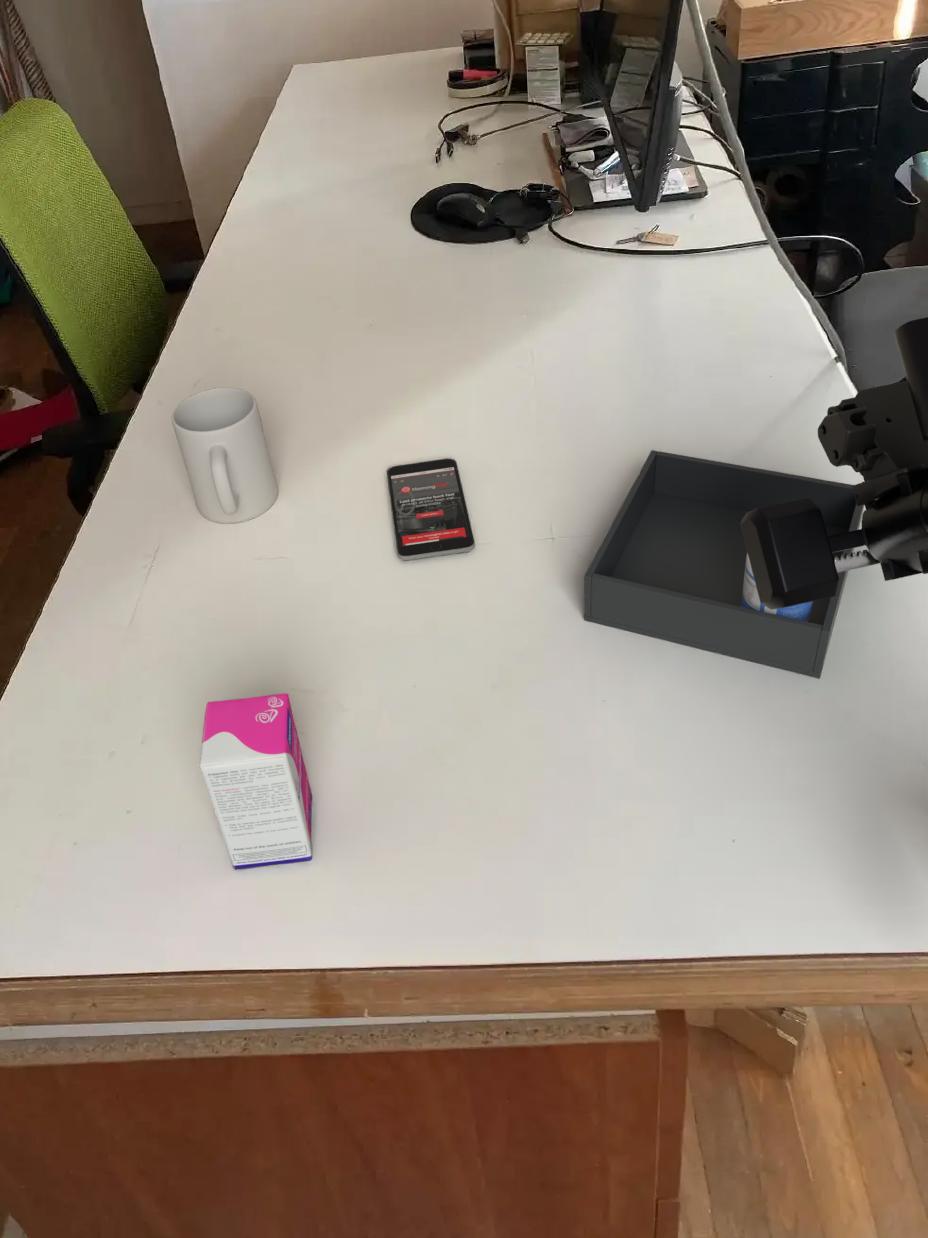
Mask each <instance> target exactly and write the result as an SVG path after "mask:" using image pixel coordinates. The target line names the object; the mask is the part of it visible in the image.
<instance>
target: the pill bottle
mask: <svg viewBox="0 0 928 1238" xmlns="http://www.w3.org/2000/svg"><path fill="white" fill-rule="evenodd" d="M812 605H813V601H812V602H807V603H803V604H799V605H794V606H790V607H785V608H780V609H773V610H771V609H769V608H768V607H766V606H764V605H763V604H761V603H760V599H759V595H758V592H757V588H756V584H755V580H754V576H753V572H752V568H751V564H750V560H749V557H748V553H747V557H746V564H745V574H744V583H743V593H742V602H741V607H744V608H749V609H753V610H758V611H762V612H766V613H771V614H775V615H780V616H784V617H788V618H793V619H797V620H802V621H806V622H810V616H811V611H812Z"/></svg>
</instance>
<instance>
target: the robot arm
mask: <svg viewBox="0 0 928 1238" xmlns="http://www.w3.org/2000/svg"><path fill="white" fill-rule="evenodd" d="M893 336H894V340H895V344H896V347H897V351H898V354H899V358H900V362H901V365H902V369H903V372H904V375H905V379H906V380H904V381H898V382H894V383H889V384H884V385H877V386H875V387H870V388H865V389H862V390H860V391H858V392H857V393H856V395H855V396H854V397H849V398H845V399H842V400H841V401H840V402H839V404H837V405H833V406H829V407H828V408H827V411H826V414H827V415H825V416H824V417H823V419H822V421H821V422H820V424H819V426H818V427H817V438H818V440H819V443H820V445H821V446H822V448H823V451H824V453H825V455H826V457H827V459H828V461H829V464H831V465H832V466H834V467H836V468H840V467H843V466H849V467H851V468H852V469H853V471H854V472H855V473H859V474H860V476H862V478H863V481H862V482H859V483H856V484H853V485H854V486H852V490H853V493H854V497H855V501H856V504H857V506H863V505H864V510H863V513H862V518H861V528H859V530H855V531H850V532H846V533H841V534H837V535H832V536H827V532H826V528H825V524H824V521H823V517H822V513H821V509H820V508H819V507H818V506H817V505H816V504H815V502H814V501H813V500H812V499H811V498H810V497H807V498H803V499H798V500H793V501H789V502H784V503H780V504H775V505H770V506H766V507H761V508H757V509H755V510H752V511H750V512H748V513H746V514H745V516H744V518H743V519H742V521H741V523H740V525H741V529H742V533H743V537H744V541H745V545H746V549H747V553H748V557H749V560H750V564H751V568H752V572H753V576H754V580H755V584H756V588H757V592H758V595H759V599H760V603H761V604H763V605H764V606H766V607H768V608H769V609H771V610H773V609H780V608H785V607H790V606H794V605H799V604H803V603H807V602H812V601H816V600H821V599H825V598H829V597H834V596H836V593H837V588H838V583H839V577H838V573H839V572H843V571H848V572H849V571H852V570H857V569H861V568H866V567H869V566H874V565H879V564H880V566H881V567H880V568H881V571H882V575H883V578H884V581H885V582H887V581H894V580H897V579H902V578H907V577H911V576H915V575H919V574H923V575H927V574H928V316H926V317H922V318H916V319H912V320H909V321H907V322H905V323H903V324H902V325H900V326H899V327H898V328H896V329H895V330H894V331H893ZM865 546H866V548H867V549H863V550H858V551H853V553H851V555H849V553H848V554H845V556H843V555H839V557H837V556H835V557H833V555H832V553H834V552H838V551H843V550H847V549H852V548H854V549H856V548H860V547H865Z"/></svg>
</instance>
